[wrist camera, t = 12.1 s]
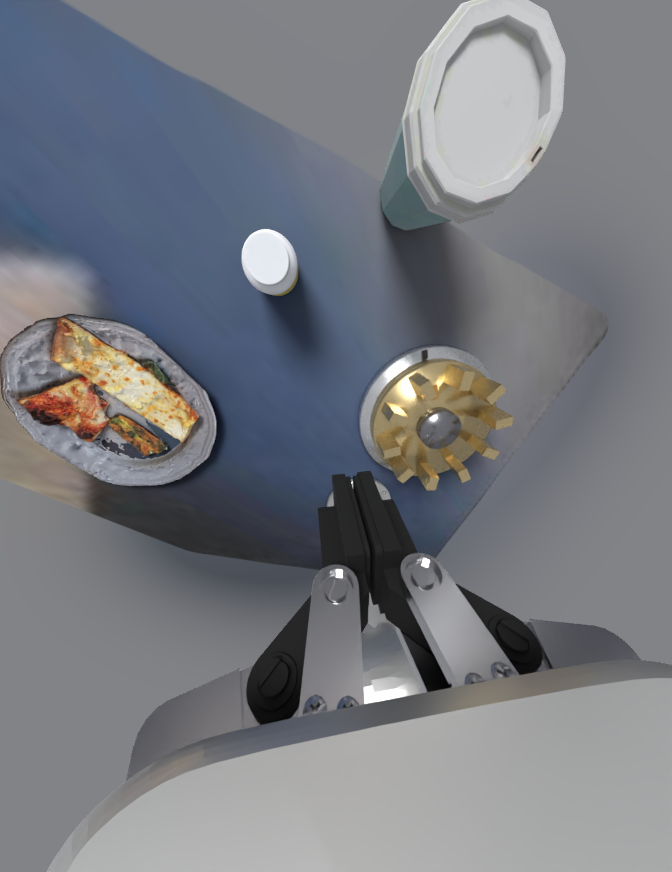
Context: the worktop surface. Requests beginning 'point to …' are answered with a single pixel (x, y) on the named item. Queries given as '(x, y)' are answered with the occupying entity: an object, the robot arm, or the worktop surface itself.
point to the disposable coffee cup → (475, 114)
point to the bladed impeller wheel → (436, 419)
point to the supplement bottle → (270, 262)
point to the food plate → (106, 399)
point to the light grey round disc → (391, 371)
